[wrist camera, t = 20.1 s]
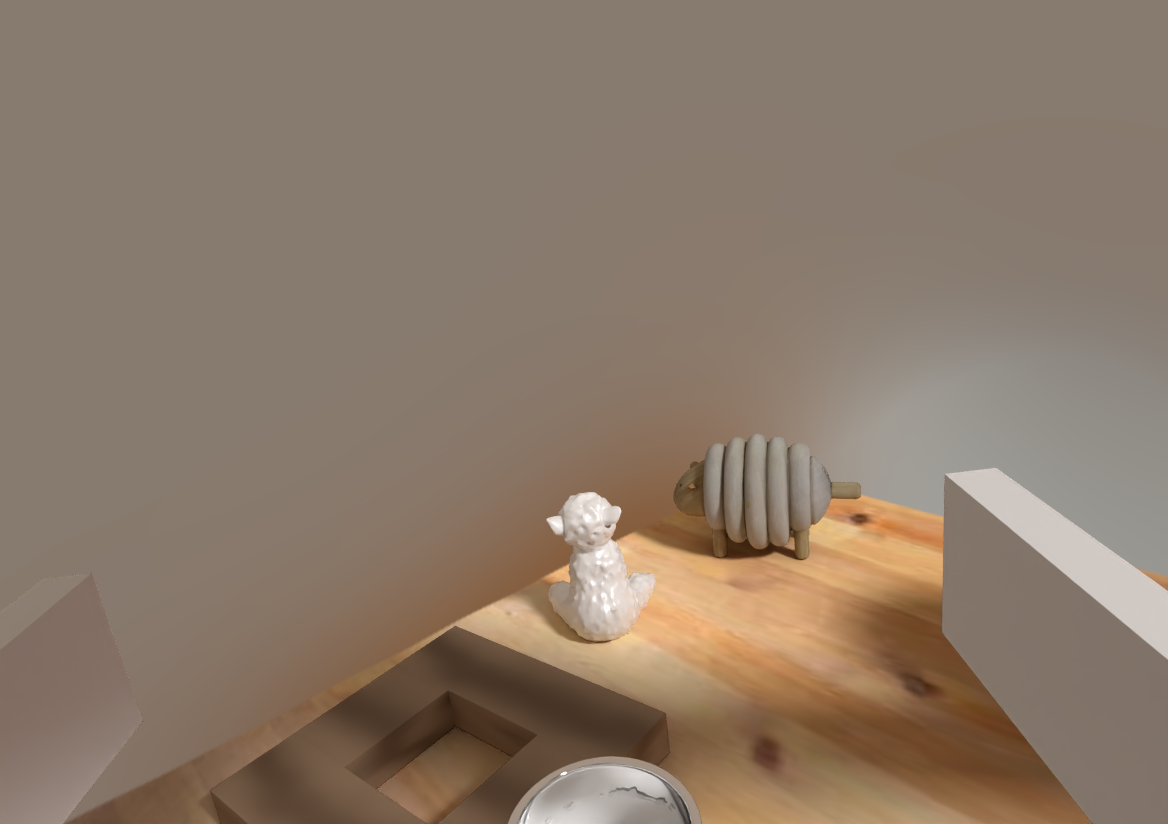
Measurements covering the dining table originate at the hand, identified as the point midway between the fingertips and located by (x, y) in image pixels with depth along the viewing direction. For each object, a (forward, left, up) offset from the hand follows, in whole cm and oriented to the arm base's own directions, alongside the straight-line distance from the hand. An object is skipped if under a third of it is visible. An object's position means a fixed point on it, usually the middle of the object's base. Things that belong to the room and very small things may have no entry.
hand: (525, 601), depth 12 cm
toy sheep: (-52, -24, -30) cm, 65 cm away
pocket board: (-15, -27, -30) cm, 43 cm away
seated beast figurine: (-35, -30, -30) cm, 56 cm away
